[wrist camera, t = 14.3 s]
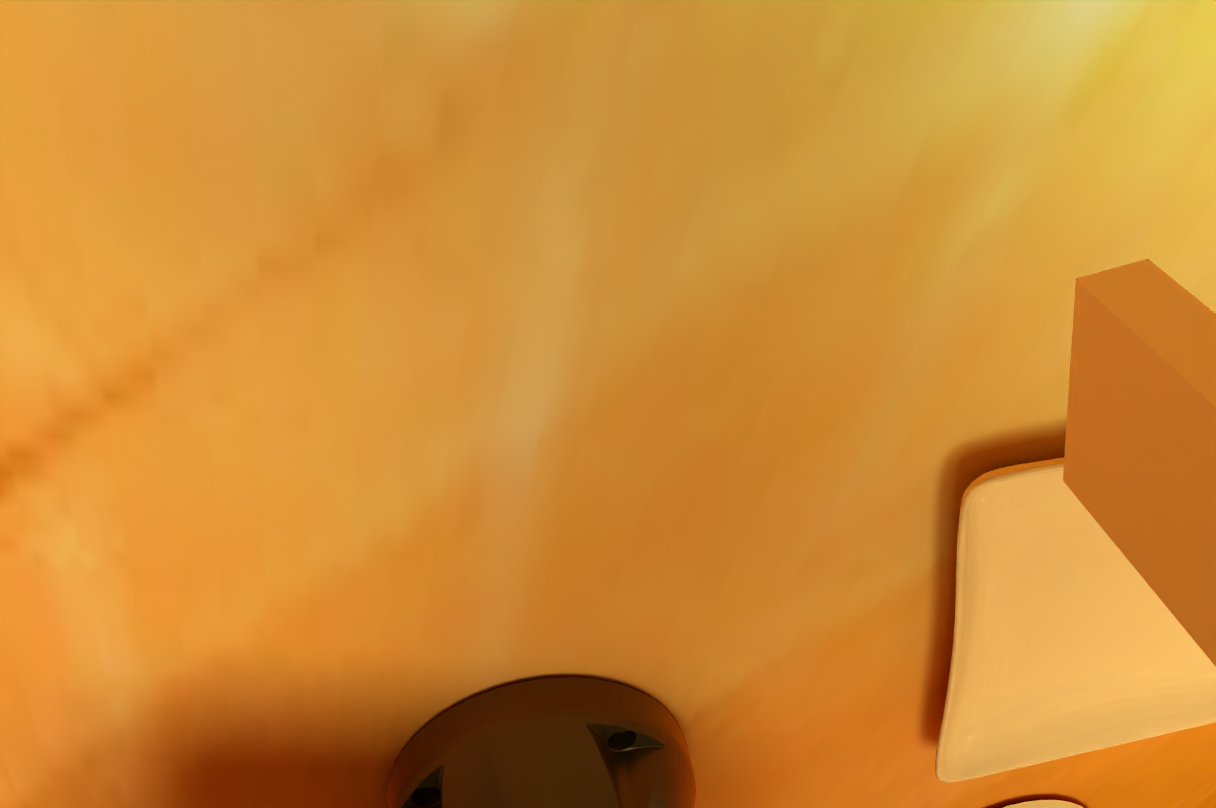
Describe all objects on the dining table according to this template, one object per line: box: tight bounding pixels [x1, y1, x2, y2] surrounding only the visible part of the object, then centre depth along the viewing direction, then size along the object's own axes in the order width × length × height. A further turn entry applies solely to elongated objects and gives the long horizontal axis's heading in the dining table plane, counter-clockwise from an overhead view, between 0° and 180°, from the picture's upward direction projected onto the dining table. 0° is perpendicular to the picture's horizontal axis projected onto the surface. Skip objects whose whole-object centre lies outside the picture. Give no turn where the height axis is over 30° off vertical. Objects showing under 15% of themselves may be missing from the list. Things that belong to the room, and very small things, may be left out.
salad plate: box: [935, 457, 1216, 783], centre depth 55 cm, size 21×21×3 cm
